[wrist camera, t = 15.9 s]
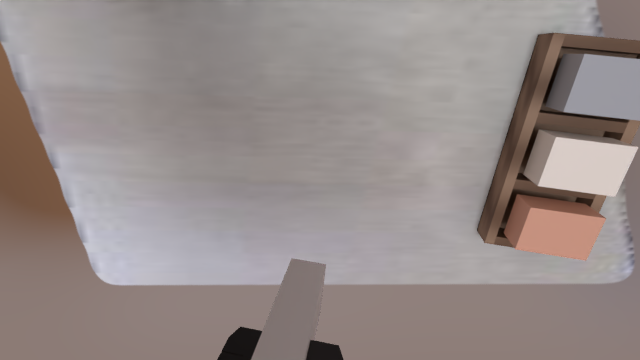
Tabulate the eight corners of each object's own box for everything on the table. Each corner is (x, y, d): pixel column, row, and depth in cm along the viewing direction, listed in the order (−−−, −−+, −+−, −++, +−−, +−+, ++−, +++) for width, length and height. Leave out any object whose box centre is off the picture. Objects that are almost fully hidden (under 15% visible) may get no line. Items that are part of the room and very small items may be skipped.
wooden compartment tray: (538, 34, 32) (553, 32, 29) (649, 44, 31) (677, 44, 28) (476, 229, 40) (484, 242, 38) (563, 243, 39) (578, 257, 36)
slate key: (563, 53, 30) (584, 53, 27) (643, 61, 30) (675, 62, 26) (545, 106, 32) (563, 111, 29) (620, 114, 31) (647, 121, 28)
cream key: (539, 129, 33) (556, 136, 29) (613, 138, 32) (638, 147, 29) (523, 174, 34) (537, 186, 31) (593, 183, 34) (614, 196, 31)
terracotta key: (517, 194, 35) (530, 207, 32) (585, 203, 34) (606, 218, 31) (503, 233, 37) (515, 249, 34) (568, 243, 36) (586, 260, 33)
